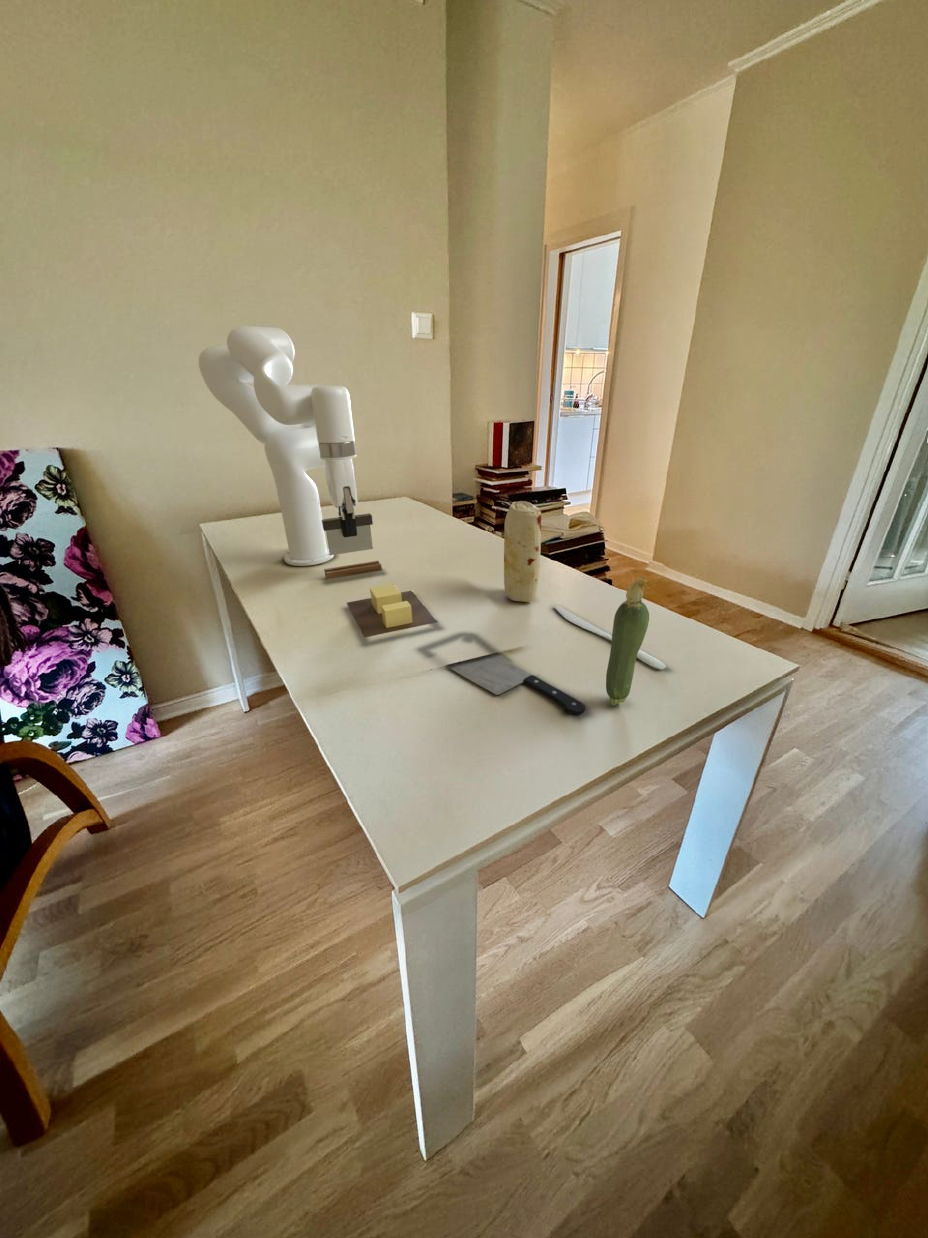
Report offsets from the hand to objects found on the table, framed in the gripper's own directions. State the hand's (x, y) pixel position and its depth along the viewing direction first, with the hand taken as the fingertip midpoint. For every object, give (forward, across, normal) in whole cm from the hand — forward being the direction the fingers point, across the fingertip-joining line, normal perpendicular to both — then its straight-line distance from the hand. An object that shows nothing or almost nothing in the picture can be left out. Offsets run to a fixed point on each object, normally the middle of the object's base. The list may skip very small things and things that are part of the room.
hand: (348, 534), depth 110 cm
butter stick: (+9, +22, +2) cm, 24 cm away
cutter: (+4, 0, 0) cm, 4 cm away
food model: (+11, +27, +30) cm, 42 cm away
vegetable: (+11, +65, +25) cm, 70 cm away
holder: (+10, 0, 0) cm, 10 cm away
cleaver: (+11, +52, +12) cm, 54 cm away
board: (+11, +25, +2) cm, 27 cm away
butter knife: (+11, +48, +35) cm, 60 cm away
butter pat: (+9, +30, +2) cm, 31 cm away
